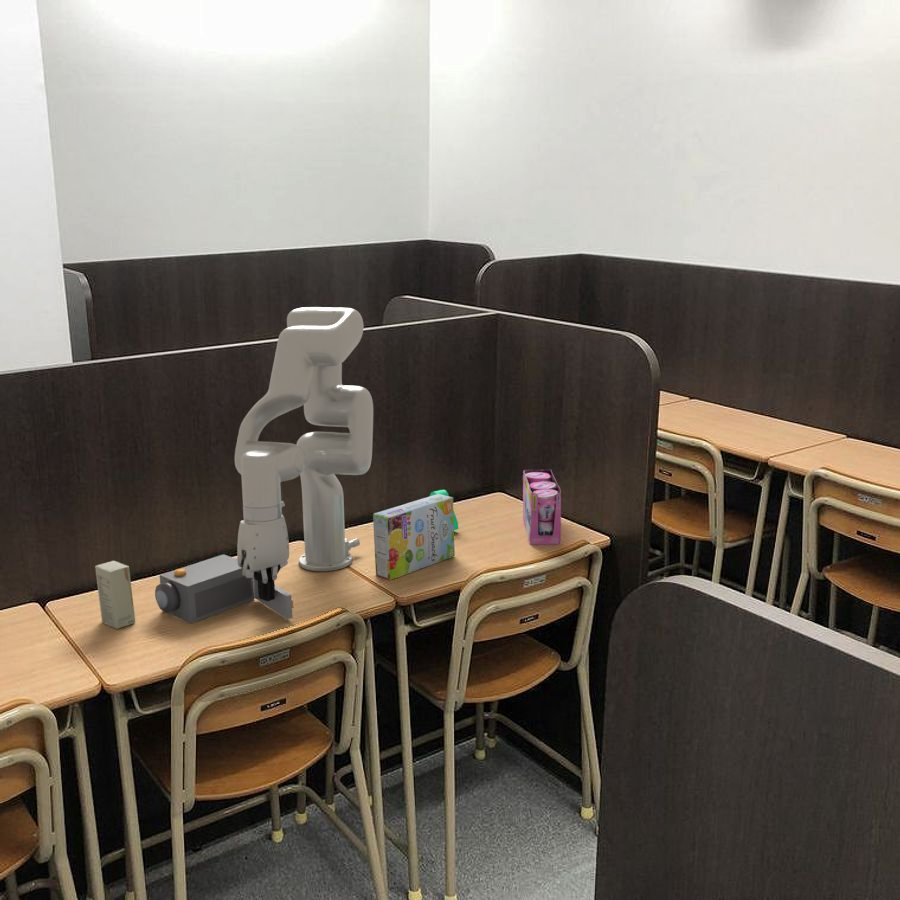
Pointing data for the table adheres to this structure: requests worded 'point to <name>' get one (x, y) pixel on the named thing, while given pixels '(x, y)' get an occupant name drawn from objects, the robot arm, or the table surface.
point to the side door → (277, 601)
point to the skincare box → (115, 594)
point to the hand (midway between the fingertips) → (266, 598)
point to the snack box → (413, 536)
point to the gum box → (541, 507)
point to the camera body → (204, 589)
